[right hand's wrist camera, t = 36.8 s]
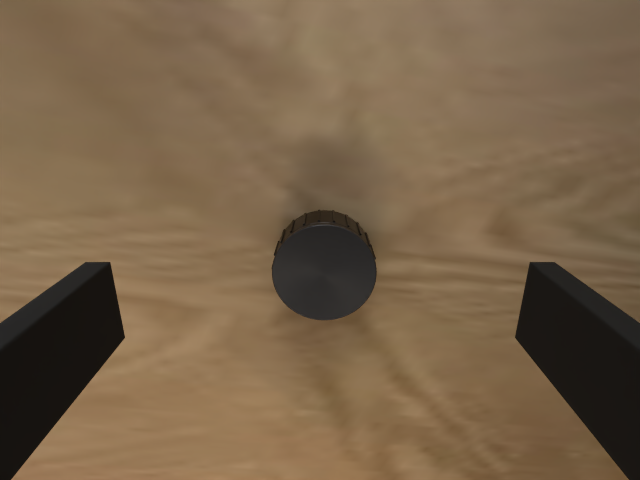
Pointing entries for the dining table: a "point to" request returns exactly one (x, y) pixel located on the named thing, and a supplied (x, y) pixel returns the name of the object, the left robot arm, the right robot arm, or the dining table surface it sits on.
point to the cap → (324, 266)
